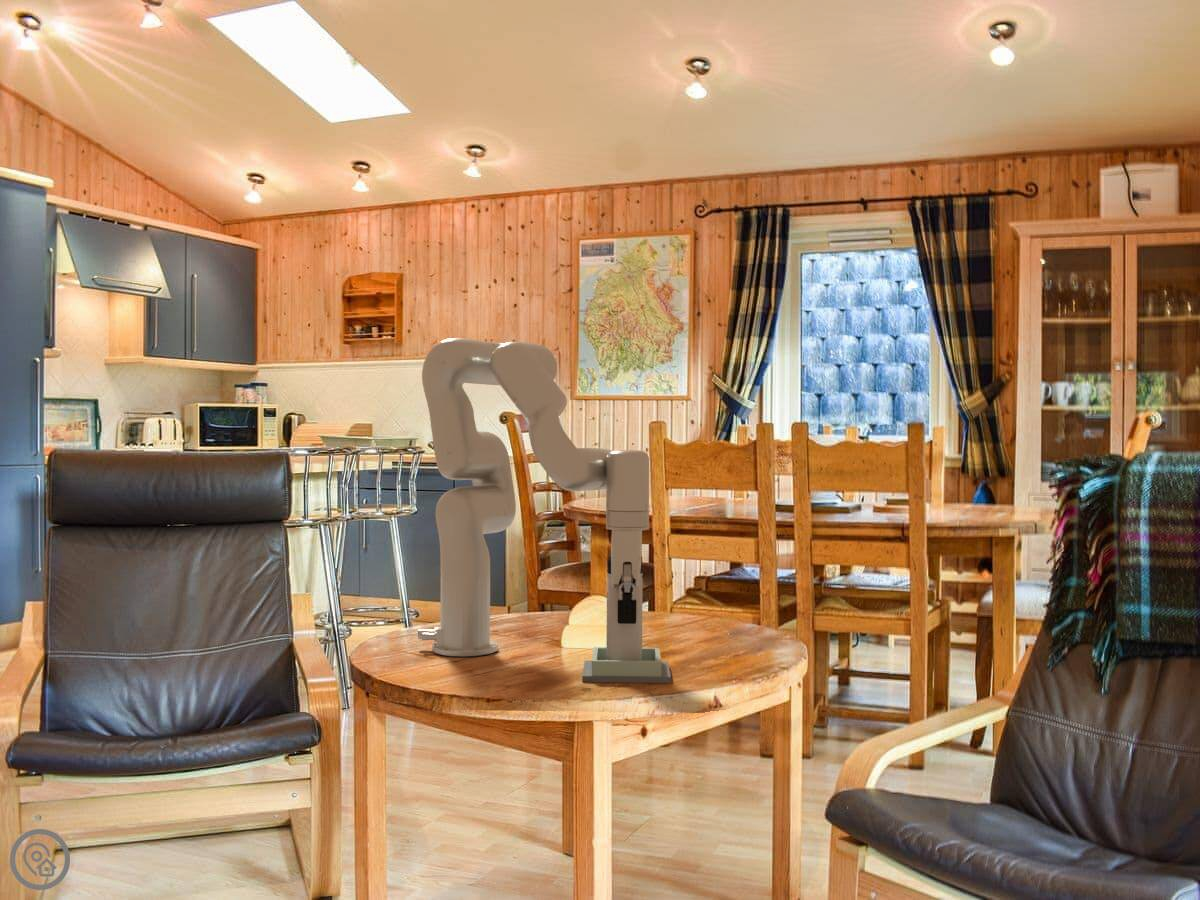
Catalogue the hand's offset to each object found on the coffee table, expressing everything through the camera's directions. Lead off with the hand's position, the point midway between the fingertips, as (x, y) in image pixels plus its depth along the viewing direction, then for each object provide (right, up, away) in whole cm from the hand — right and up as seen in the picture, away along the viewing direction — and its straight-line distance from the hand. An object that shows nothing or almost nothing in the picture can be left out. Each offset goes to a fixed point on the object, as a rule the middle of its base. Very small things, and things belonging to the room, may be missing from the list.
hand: (626, 618), depth 187 cm
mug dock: (0, -10, 0) cm, 10 cm away
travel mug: (0, -9, 0) cm, 9 cm away
